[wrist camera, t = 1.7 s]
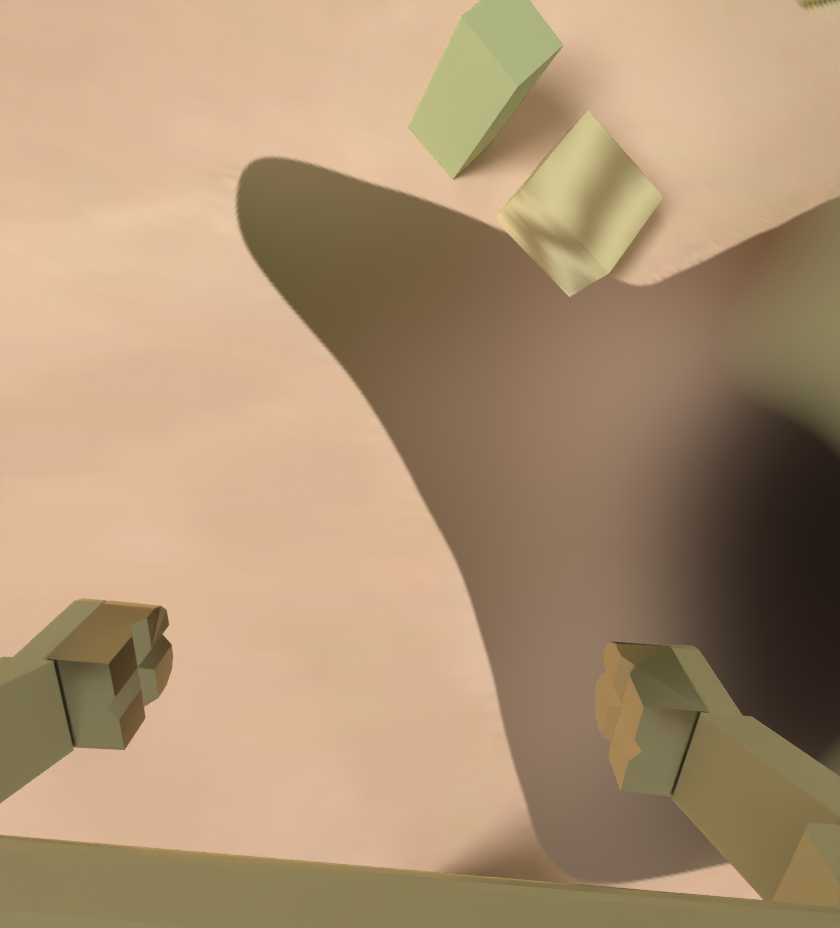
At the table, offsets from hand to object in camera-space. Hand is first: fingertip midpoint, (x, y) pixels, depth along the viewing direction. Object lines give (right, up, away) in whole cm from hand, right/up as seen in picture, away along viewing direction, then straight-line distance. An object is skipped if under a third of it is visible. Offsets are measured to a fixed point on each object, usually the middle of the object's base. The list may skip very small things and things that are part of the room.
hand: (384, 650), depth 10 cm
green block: (+3, +29, +32) cm, 44 cm away
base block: (+13, +24, +35) cm, 45 cm away
